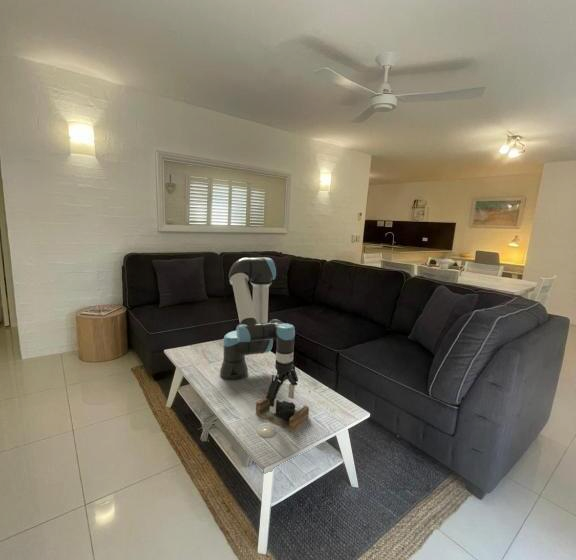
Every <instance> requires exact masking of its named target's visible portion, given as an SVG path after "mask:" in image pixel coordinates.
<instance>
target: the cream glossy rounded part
mask: <svg viewBox="0 0 576 560" xmlns="http://www.w3.org/2000/svg"><path fill="white" fill-rule="evenodd" d="M256 433H257V435H258V436H259V437H263V438H271V437H273V436H274V435H276V433H277V428H276V426H275V424H272V423H269V422H265V423H264V422H263V423H261V424H258V426H256Z"/></svg>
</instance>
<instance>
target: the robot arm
mask: <svg viewBox="0 0 576 560" xmlns="http://www.w3.org/2000/svg"><path fill="white" fill-rule="evenodd" d="M275 264H276V263H275V262H274V259H272V258H270V257H264V256H263V257H242V258H239V259H237V260H236V261H235V262H233V264H232V266H231V267H230V270H229V273H228V279H229V284H230V285H231V286H232V290H233V294H234V295H233V296H234V301H235V305H236V310H237V315H238V320H239V324H237V326H236V329H235V330H232V331H230V332H228V333H225V335H224V337H223V341H222V345H223V361H222V364H221V367H220V369H219V374H220V375H219V376H220V377H221V378H222V379H225V380H230V381H235V380H236V381H237V380H241V379H243V378H245V377H247V376H248V372H249V369H248V365H247V361H246V356H251V355H258V354H259V355H260V354H261V355H262V354H265V353H266V354H267V353H269V352H271V350H272V348H273V345H274V344H273V343H274V341H275V342H276V343H275V345H276V346H275V347H276V348H275V364H274V365H275V369H276V374H275V375H274V374H272V375H271V380H270V384H269V387H268V389H267V390H268V391H267V394H266V395H267V396H266V395H265V396H266V399H268V400H270V404H269V405H270V412H272V413H274V414H275V413H276V400H277V395H278V393H279V390H280V388H281V387H282V385H283V384H284V382H285V381H287V380H288V382H289V383H288V398H290V399H292V400H294V399H295V390H296V388H295V387H296V386H298V382H299V378H298V374H297V372H296V366H295V365H294V350H295V336H296V330H295V329H296V327H295V326H294V325H293V324H291V323H288V322H287V323H284V322H283V321H281V320H279V319H277V318H274V319H270V320H269V321H268V318H269V317H268V314H269V291H270V290H269V289H270V286H271V285H272V283H273V280H276V276H277V268H276V265H275ZM248 282H249V283H250V284H251V285H252V295H251V291H250V286H249V283H248ZM275 398H276V399H275Z"/></svg>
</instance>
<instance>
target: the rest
mask: <svg viewBox="0 0 576 560" xmlns="http://www.w3.org/2000/svg"><path fill="white" fill-rule="evenodd" d="M266 396H267V394H266V395H265V396H263V397H261V398H260V399H259V400H258V401H256V402H255V414H257V415H259V416H262V417H263V418H265V419H267V420H269V421H271V422H272V423H275V424H277V425H279V426H280V427H283V429H286V430H288V431H290V432H292V433H294V431H296V430H297V429H298V428H299V427H300V426H301V425H302V424H303V423H304V422H305V421H306V420H307V419H309V413H310V412H309V411H310V406H308V405H303V406H302V407H301V408H300V409H299V410H298V409H296V408H295V413H294V415H293V416H292V417H291V418H290V419H289V421H285V420H284V419H282V418H280V417H278V415H277V414H276V413H275V414H274V413H272V412H270V405H269V404H270V400H268V399H266ZM275 399H276V400H277V397H276V398H275Z"/></svg>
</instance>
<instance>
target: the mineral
mask: <svg viewBox="0 0 576 560" xmlns="http://www.w3.org/2000/svg"><path fill="white" fill-rule="evenodd" d="M295 409H296V405H295V403H294V402H288V401H287V400H286V401H285V400H282V399H276V414H277V415H278V417H280V418H282V419H284V420H285V421H289V419H290V418H291V417H292V416H293V415H294V413H295Z"/></svg>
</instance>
